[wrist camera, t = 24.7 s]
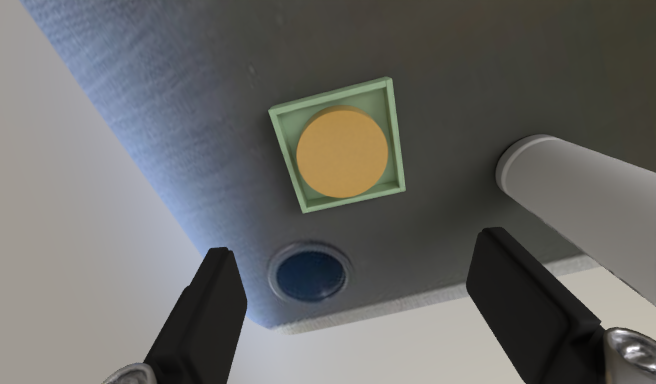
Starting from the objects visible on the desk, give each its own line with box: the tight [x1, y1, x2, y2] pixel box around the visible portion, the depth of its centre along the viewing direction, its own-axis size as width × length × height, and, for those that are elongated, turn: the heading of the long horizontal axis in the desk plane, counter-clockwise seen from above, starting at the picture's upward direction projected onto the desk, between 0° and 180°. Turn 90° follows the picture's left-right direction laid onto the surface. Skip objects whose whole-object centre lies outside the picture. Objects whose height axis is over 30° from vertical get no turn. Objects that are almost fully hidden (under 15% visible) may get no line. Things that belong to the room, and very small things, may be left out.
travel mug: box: [495, 134, 656, 306], centre depth 17 cm, size 6×7×20 cm
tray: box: [268, 77, 406, 213], centre depth 24 cm, size 10×10×2 cm
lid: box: [296, 105, 388, 198], centre depth 23 cm, size 8×8×3 cm
